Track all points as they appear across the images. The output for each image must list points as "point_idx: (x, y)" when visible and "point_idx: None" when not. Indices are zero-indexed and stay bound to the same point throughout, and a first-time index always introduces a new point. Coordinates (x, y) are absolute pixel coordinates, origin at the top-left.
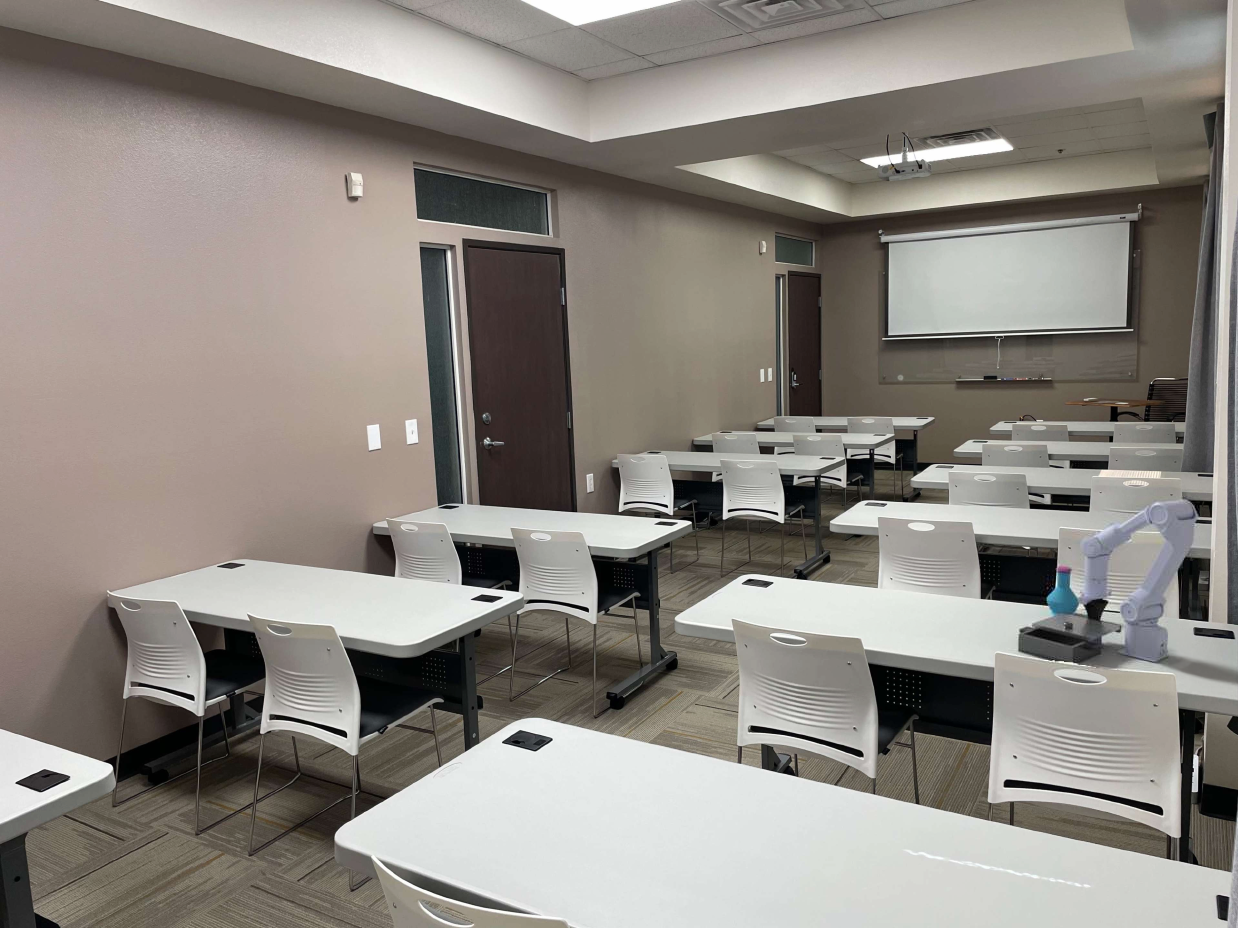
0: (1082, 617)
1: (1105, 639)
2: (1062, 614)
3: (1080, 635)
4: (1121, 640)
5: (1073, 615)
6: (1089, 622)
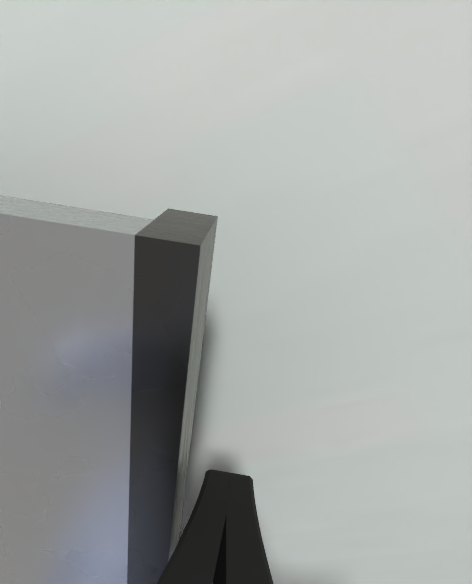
0: (131, 490)
1: (281, 442)
2: (48, 266)
3: None
4: (321, 501)
5: (127, 401)
6: (10, 561)
